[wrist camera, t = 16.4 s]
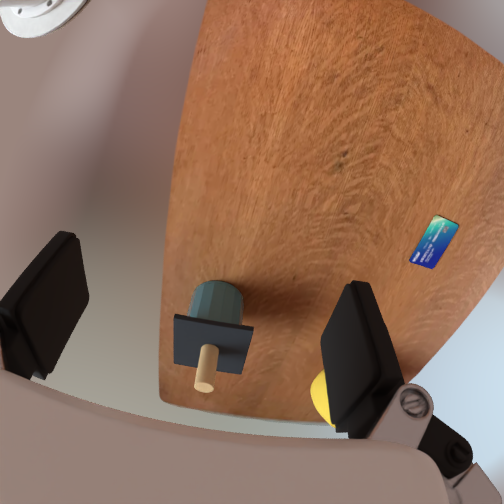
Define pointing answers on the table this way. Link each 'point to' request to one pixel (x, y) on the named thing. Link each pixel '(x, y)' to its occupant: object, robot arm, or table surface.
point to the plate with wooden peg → (210, 347)
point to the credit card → (434, 242)
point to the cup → (217, 303)
